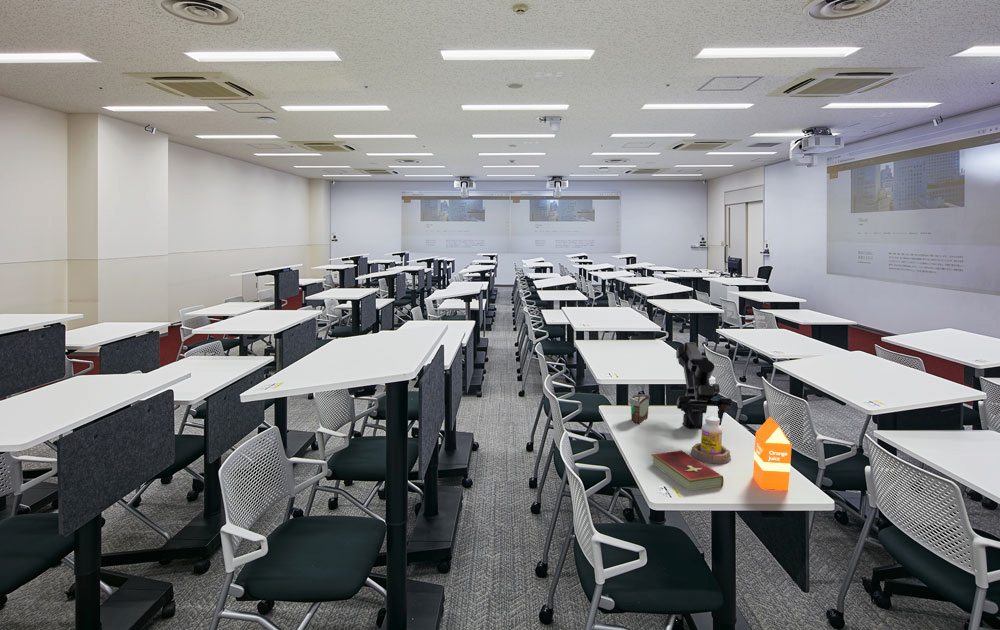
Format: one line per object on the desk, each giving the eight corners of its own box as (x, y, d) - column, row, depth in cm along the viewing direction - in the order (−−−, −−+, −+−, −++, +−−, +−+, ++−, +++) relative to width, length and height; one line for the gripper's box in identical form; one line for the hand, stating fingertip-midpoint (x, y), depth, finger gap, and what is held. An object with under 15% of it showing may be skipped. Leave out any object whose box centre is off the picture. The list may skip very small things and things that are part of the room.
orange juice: (778, 478, 168) (782, 417, 165) (788, 491, 159) (793, 426, 156) (752, 476, 169) (756, 416, 166) (761, 489, 160) (765, 425, 158)
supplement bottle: (697, 454, 185) (698, 418, 183) (704, 448, 190) (706, 414, 188) (716, 459, 180) (718, 422, 179) (724, 453, 185) (725, 418, 183)
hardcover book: (682, 460, 182) (682, 449, 182) (723, 487, 162) (723, 474, 162) (651, 465, 179) (651, 453, 178) (689, 493, 159) (689, 479, 158)
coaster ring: (718, 448, 192) (719, 441, 192) (738, 463, 179) (738, 455, 179) (684, 449, 191) (684, 442, 190) (701, 464, 178) (701, 457, 178)
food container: (635, 414, 230) (635, 392, 229) (648, 417, 226) (649, 394, 225) (624, 422, 220) (624, 399, 219) (638, 425, 217) (639, 401, 215)
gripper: (679, 374, 196) (683, 412, 187) (732, 376, 193) (739, 415, 184) (675, 389, 205) (678, 426, 195) (726, 391, 202) (732, 429, 192)
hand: (706, 424), depth 192 cm, fingers open, 9 cm apart
